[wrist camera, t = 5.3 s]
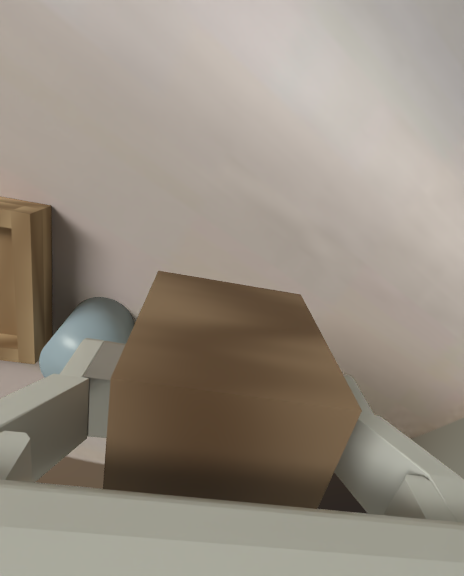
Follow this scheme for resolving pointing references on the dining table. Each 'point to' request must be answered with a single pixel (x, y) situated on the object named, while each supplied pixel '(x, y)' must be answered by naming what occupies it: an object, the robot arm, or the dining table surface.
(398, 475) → the robot arm
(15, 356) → the wooden tray
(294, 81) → the dining table surface
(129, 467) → the walnut block
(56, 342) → the grey capsule
